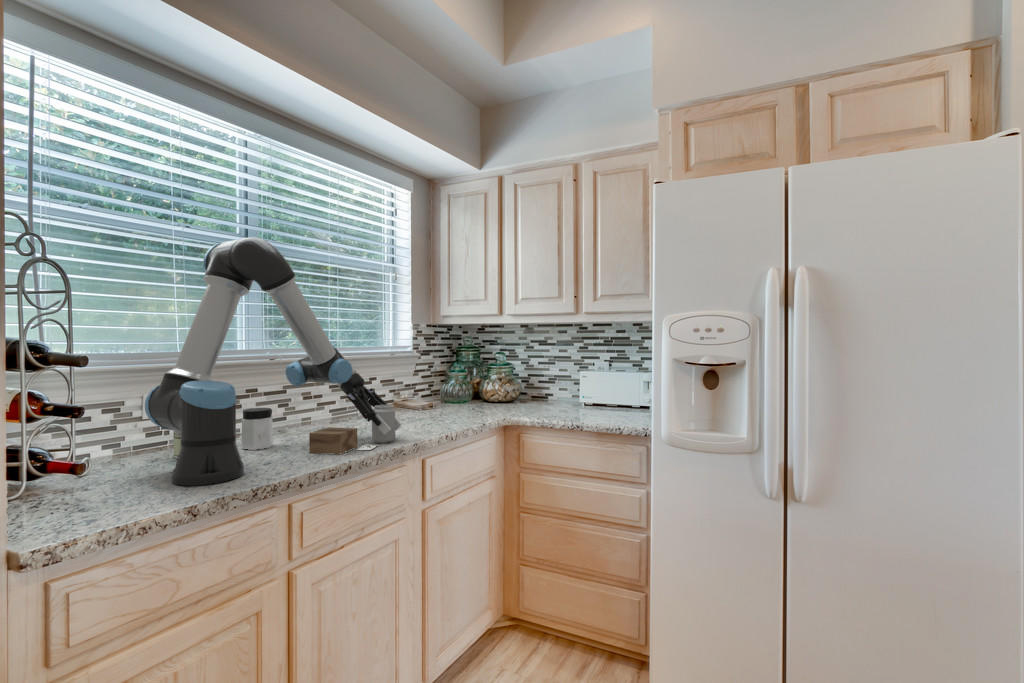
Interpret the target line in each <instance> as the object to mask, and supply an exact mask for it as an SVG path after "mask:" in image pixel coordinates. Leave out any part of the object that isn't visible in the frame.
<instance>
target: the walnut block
mask: <svg viewBox="0 0 1024 683" xmlns="http://www.w3.org/2000/svg"><path fill="white" fill-rule="evenodd" d="M308 434H309V436H308V438H309V443H308V444H309V446H308V447H309V448H308V449H309V454H317V453H334V454H333V455H338V454H340V453H343V452H345V451H347V452H349V451H348V450H350V449H352V450H354V449H353V448H355V449H357V448H358V428H356V427H332V426H331V427H330V426H329V427H324V428H322V429H317V430H315V431H312V432H309V433H308ZM356 447H357V448H356ZM350 451H351V450H350ZM345 453H346V452H345ZM343 454H344V453H343ZM340 455H341V454H340Z"/></svg>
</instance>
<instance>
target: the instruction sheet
mask: <svg viewBox="0 0 1024 683" xmlns="http://www.w3.org/2000/svg"><path fill="white" fill-rule="evenodd" d="M370 445H372V446H378V447H380V444H363V445H362V446H367V447H369V448H371V446H370ZM363 448H364V447H363Z"/></svg>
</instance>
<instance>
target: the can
mask: <svg viewBox="0 0 1024 683" xmlns="http://www.w3.org/2000/svg"><path fill="white" fill-rule="evenodd" d="M372 409H373V410H374V412H375V414H376V415H377V414H378V415H379V416H380V417H381V418H382V419H383V420H384V422H385V423H386V424H387V425H388V426H389V427H390V428H391V429H390V430H389V432H388V433H387V434H386V435H384V434H383V433H382V432H381V431H380V429H379V428H378V427H377V426H376V425H375V424H374V423H373V422H372V421H371V440H372V442H374V444H388V443H387V442H390V443H393V442H394V440H396V430H395V418H396V409H395V408H394V405H393V404H388V405H376V406H374V407H373V408H372ZM376 415H375V416H376ZM392 441H393V442H392Z"/></svg>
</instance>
